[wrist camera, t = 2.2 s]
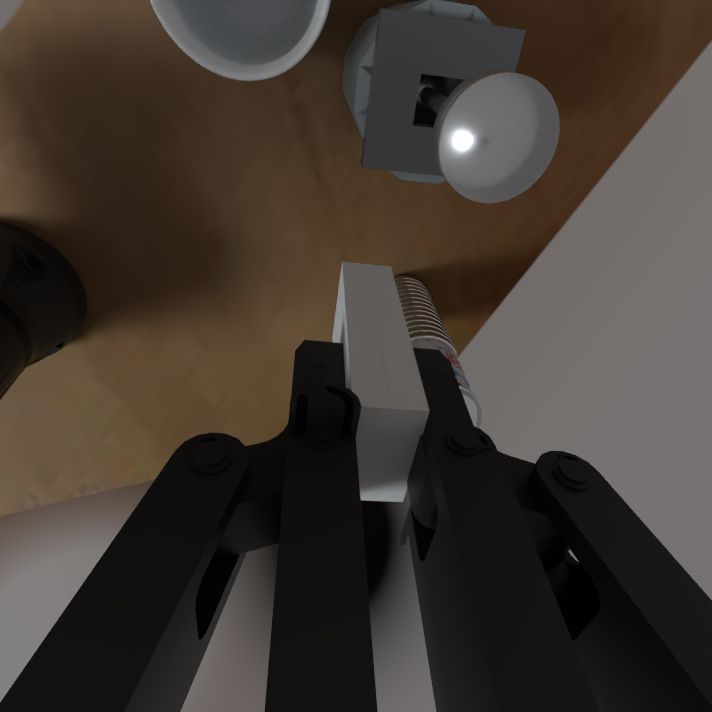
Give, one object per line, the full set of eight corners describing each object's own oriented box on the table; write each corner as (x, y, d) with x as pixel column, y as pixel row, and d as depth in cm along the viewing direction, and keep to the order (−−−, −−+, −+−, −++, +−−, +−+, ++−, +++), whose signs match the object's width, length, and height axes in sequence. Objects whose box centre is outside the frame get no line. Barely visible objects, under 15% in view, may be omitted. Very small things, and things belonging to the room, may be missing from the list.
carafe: (337, 131, 45) (348, 179, 31) (352, -39, 38) (375, -69, 24) (441, 143, 46) (494, 193, 33) (474, -19, 39) (558, -38, 26)
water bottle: (366, 278, 54) (401, 439, 33) (427, 267, 53) (499, 421, 33) (375, 329, 57) (411, 501, 37) (432, 319, 57) (499, 485, 37)
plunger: (375, 135, 34) (415, 207, 21) (388, 35, 31) (445, 47, 18) (456, 144, 35) (542, 219, 22) (477, 48, 32) (595, 68, 19)
